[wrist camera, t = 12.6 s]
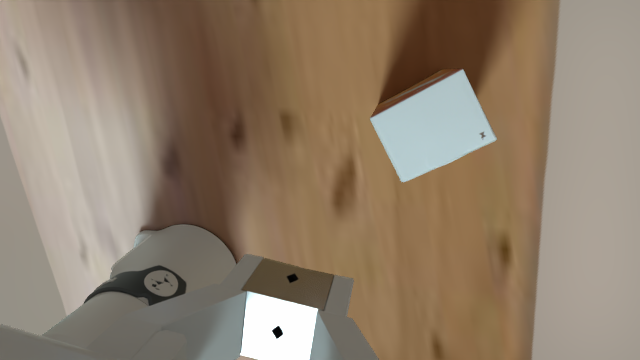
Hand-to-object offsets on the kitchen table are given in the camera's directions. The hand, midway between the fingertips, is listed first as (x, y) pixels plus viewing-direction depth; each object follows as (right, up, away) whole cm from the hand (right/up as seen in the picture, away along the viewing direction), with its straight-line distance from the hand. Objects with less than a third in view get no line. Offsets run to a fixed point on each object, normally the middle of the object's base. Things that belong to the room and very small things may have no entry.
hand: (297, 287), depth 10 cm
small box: (+12, +11, +31) cm, 35 cm away
